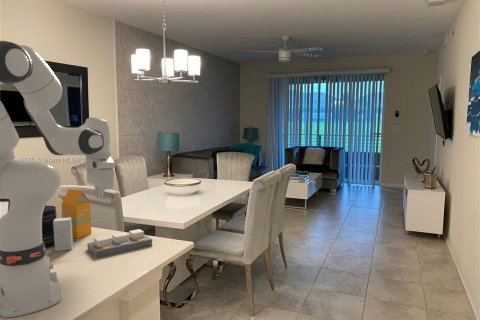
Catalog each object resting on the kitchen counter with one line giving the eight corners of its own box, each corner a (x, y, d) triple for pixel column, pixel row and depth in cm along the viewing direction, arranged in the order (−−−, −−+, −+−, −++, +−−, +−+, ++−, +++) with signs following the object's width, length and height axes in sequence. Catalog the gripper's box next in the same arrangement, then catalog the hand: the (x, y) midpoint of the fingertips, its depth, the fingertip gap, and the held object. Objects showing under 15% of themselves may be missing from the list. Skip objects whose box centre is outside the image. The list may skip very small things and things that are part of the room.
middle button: (127, 241, 144) (127, 235, 144) (116, 244, 142) (116, 237, 141) (123, 238, 148) (122, 232, 148) (112, 241, 145) (112, 234, 145)
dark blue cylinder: (26, 245, 146) (23, 209, 145) (50, 238, 154) (48, 204, 152) (37, 250, 140) (35, 213, 139) (62, 243, 148) (60, 208, 146)
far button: (143, 238, 149) (143, 231, 149) (133, 240, 146) (133, 233, 146) (139, 235, 152) (139, 229, 152) (129, 237, 150) (129, 231, 149)
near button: (109, 245, 140) (109, 238, 140) (98, 248, 137) (97, 241, 137) (105, 242, 144) (105, 235, 143) (94, 245, 141) (94, 238, 140)
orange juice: (77, 238, 154) (74, 192, 152) (62, 235, 158) (60, 190, 156) (91, 233, 161) (89, 189, 159) (77, 230, 165) (75, 187, 163)
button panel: (152, 245, 147) (152, 238, 147) (96, 258, 134) (96, 250, 133) (140, 237, 156) (140, 231, 155) (87, 249, 142) (87, 242, 142)
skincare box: (73, 246, 146) (71, 217, 144) (71, 249, 142) (70, 219, 140) (56, 247, 144) (54, 218, 142) (54, 251, 140) (52, 221, 138)
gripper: (81, 159, 143) (83, 193, 144) (98, 164, 127) (100, 203, 128) (98, 158, 147) (99, 191, 148) (116, 163, 131) (117, 201, 132)
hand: (99, 197), depth 138 cm, fingers closed
